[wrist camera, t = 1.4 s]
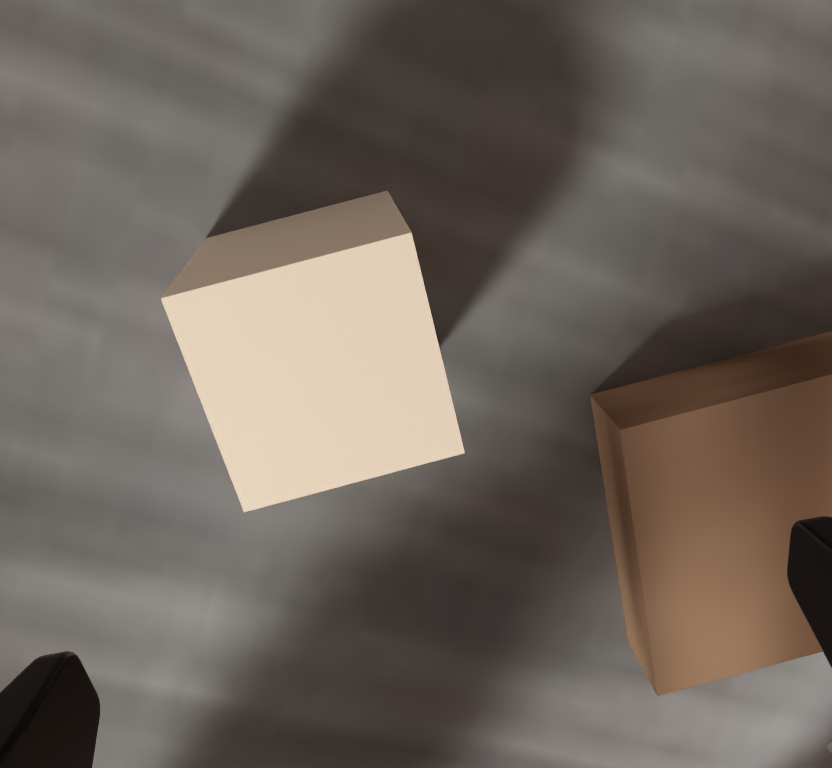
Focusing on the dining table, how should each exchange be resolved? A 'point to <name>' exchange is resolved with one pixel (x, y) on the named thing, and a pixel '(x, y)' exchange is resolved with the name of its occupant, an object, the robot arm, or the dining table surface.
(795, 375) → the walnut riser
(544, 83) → the dining table surface
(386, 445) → the cream block
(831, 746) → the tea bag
